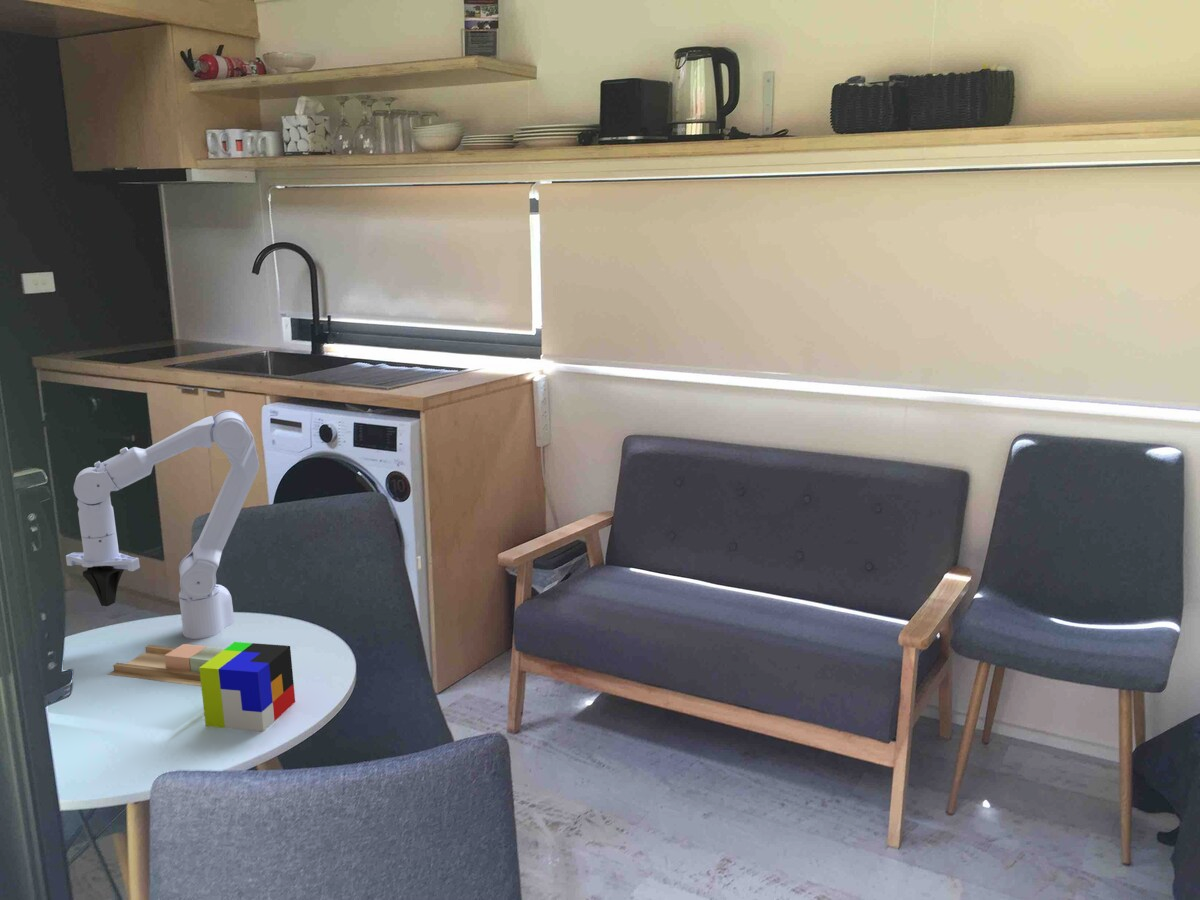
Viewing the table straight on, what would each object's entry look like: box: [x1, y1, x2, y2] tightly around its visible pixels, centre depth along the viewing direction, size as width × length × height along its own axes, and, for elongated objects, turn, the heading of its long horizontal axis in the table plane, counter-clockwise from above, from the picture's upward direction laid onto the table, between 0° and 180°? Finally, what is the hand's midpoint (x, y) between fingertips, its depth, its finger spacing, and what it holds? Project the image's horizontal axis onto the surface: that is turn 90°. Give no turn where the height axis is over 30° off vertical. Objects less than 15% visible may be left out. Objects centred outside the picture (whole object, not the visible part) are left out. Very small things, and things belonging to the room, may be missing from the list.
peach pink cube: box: [164, 643, 208, 672], centre depth 175 cm, size 5×5×3 cm
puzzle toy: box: [199, 641, 296, 732], centre depth 159 cm, size 10×10×10 cm
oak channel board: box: [108, 644, 226, 687], centre depth 175 cm, size 12×26×4 cm, turn 74°
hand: (108, 604), depth 183 cm, fingers closed
